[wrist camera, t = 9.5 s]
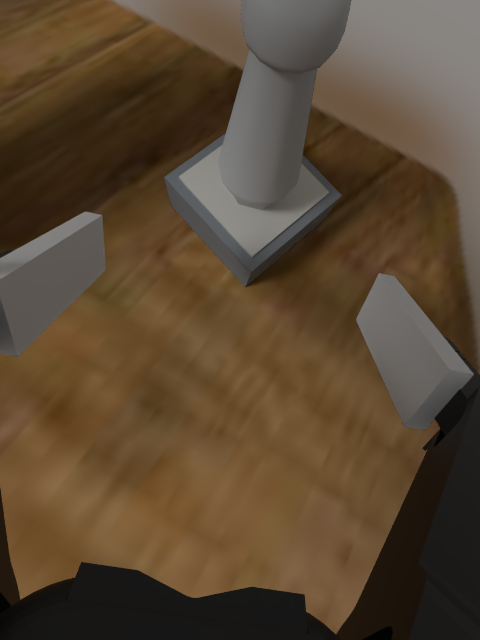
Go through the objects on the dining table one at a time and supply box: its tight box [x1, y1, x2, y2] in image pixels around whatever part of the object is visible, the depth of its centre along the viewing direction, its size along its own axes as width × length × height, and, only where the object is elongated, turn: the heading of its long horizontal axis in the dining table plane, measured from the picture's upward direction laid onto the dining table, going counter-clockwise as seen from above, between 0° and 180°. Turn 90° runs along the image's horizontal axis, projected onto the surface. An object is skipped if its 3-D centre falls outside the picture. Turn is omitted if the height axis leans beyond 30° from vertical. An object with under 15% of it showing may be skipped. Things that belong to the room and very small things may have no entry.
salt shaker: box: [218, 0, 351, 210], centre depth 17 cm, size 6×6×13 cm
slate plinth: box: [164, 133, 342, 287], centre depth 26 cm, size 10×10×4 cm
